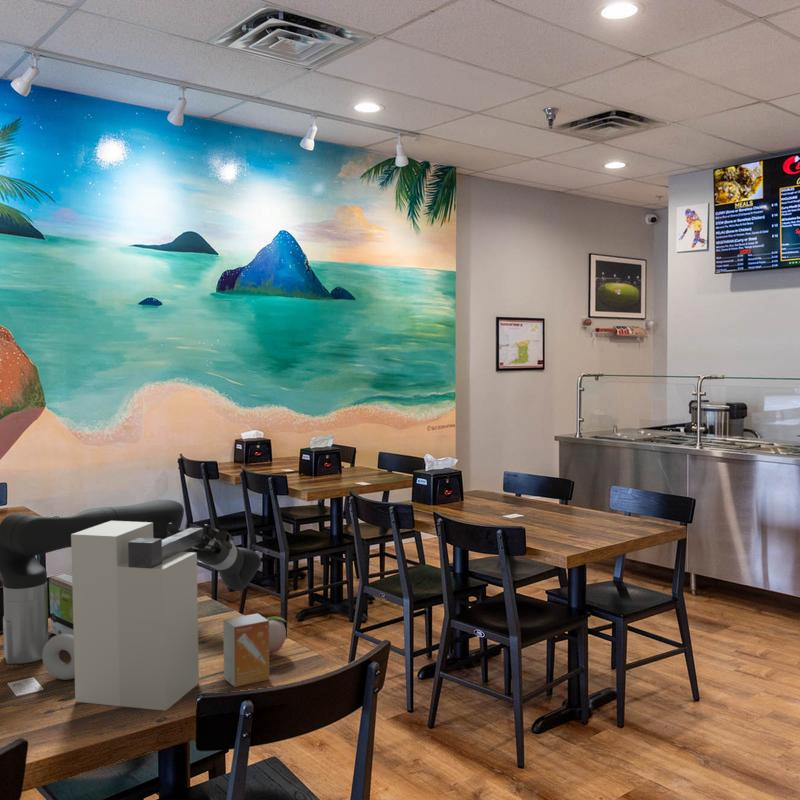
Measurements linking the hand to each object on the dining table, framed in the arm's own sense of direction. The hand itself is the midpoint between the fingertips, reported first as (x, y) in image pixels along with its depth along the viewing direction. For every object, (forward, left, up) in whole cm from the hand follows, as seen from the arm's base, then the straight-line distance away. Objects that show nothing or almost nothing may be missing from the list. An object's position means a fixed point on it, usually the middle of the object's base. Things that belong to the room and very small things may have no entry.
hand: (186, 527), depth 179 cm
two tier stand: (-12, -5, -32) cm, 35 cm away
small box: (+9, -11, -32) cm, 35 cm away
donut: (-24, +10, -32) cm, 41 cm away
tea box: (-15, +38, -32) cm, 52 cm away
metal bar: (-5, -5, -4) cm, 8 cm away
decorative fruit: (+18, -1, -32) cm, 37 cm away
